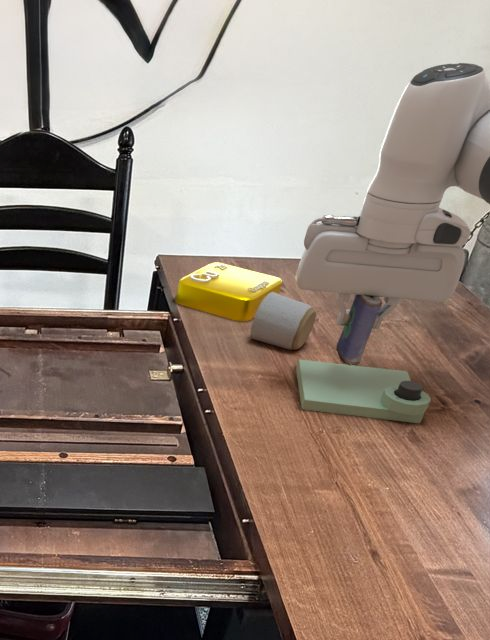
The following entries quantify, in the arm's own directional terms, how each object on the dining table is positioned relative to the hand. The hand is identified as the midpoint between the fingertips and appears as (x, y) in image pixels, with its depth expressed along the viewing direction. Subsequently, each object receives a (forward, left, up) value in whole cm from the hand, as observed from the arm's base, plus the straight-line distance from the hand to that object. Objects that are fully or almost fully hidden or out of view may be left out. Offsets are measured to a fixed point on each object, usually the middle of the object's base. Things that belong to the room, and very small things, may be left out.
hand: (357, 325), depth 102 cm
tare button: (-8, +7, -7) cm, 12 cm away
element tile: (+17, -32, -10) cm, 37 cm away
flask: (0, 0, -4) cm, 4 cm away
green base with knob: (-3, +2, -10) cm, 10 cm away
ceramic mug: (+7, -16, -10) cm, 20 cm away
